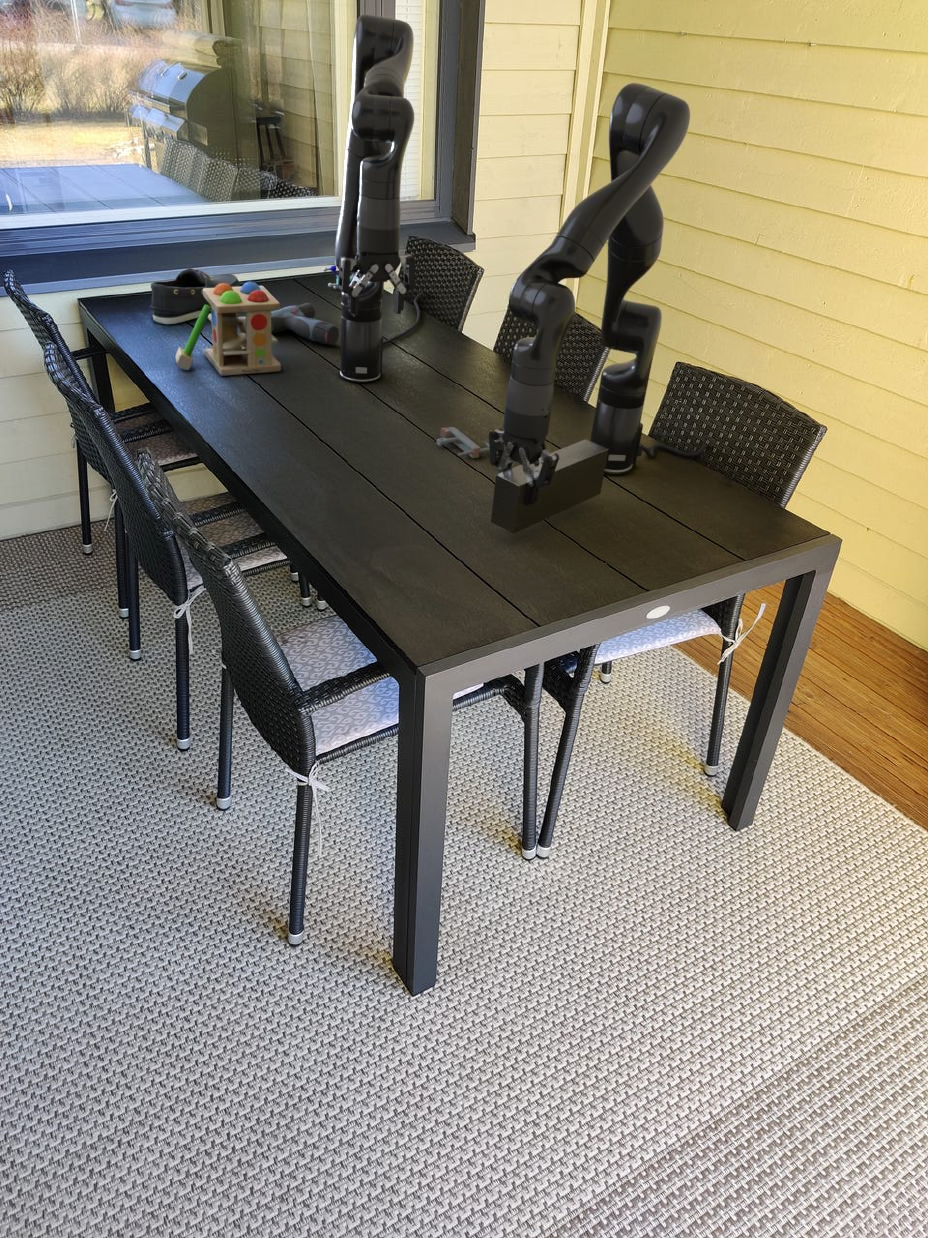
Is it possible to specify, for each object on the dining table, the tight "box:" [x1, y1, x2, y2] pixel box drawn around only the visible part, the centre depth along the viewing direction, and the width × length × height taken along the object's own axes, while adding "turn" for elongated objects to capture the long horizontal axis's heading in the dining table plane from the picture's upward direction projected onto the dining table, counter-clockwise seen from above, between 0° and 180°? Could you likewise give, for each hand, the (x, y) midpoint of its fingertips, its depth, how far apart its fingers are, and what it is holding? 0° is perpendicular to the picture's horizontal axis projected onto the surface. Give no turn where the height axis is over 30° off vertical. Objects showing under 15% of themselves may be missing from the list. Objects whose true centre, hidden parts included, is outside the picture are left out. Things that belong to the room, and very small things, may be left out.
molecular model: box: [322, 260, 356, 290], centre depth 284 cm, size 12×10×10 cm
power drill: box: [271, 302, 340, 346], centre depth 252 cm, size 5×19×20 cm
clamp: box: [436, 426, 498, 459], centre depth 201 cm, size 15×2×10 cm
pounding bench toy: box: [174, 281, 282, 377], centre depth 225 cm, size 23×14×18 cm, turn 116°
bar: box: [490, 439, 608, 535], centre depth 175 cm, size 25×5×9 cm, turn 136°
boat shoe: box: [150, 268, 242, 325], centre depth 260 cm, size 13×33×10 cm, turn 147°
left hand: (376, 314), depth 182 cm, fingers open, 8 cm apart
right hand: (516, 497), depth 169 cm, fingers closed on bar, 5 cm apart
